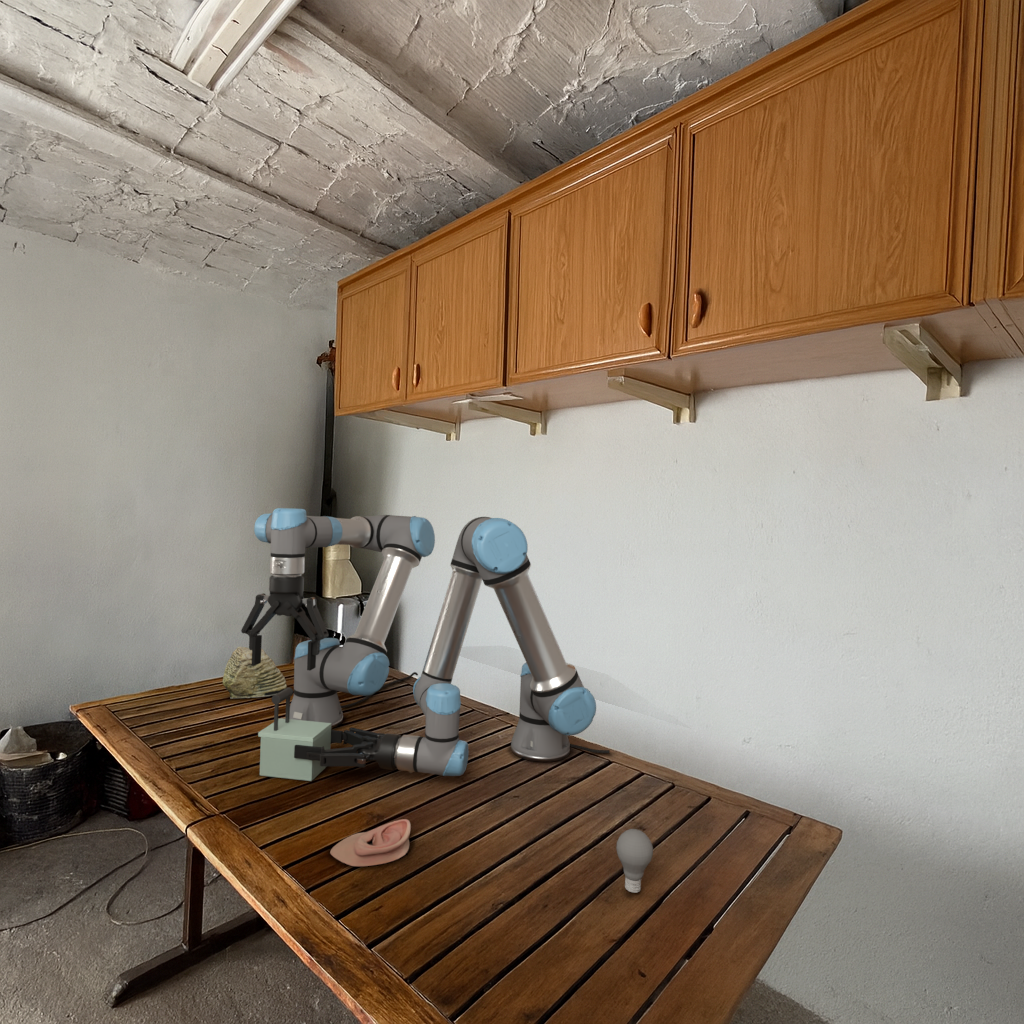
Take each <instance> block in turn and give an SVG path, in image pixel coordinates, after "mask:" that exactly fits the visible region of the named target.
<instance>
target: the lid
mask: <svg viewBox="0 0 1024 1024" xmlns="http://www.w3.org/2000/svg"><path fill="white" fill-rule="evenodd" d="M292 696H294V688H292V687H286V689H285V690H283V691H281V692H279V693H278V694H276V695H272V697H271V703H272V704H274V711H273V712H274V713H273V714H274V715H273V722H272V723H271V724H269V725H267V726H266V727H264V728H263V729H261V730H259V731H258V732H257V737H258V738H261V737H267V738H277V739H287V740H297V741H307V742H314V741H315V740H316V739H317V738H319V737H320V736H321V735H322V734H323V733H325V732H326V731H327V730H328V729H330V728H331V723H324V722H314V721H303V720H293V719H289V717H290V704H291V697H292ZM284 701H285V717H284V718H282V717H281V718H279V709H280V704H281V703H282V702H284Z"/></svg>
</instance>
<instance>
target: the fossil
mask: <svg viewBox="0 0 1024 1024" xmlns="http://www.w3.org/2000/svg"><path fill="white" fill-rule="evenodd" d="M222 676H223V677H222V685H223V687H224V688H225V690H226V691H228V693H229V698H230V699H250V698H264V697H271V696H272V697H273V696H274V695H276V694H278V693H279V692H281V691H283V690H285V689H286V688H288V686H287V680H286V678H285V676H284V674H283V673H282V672H281V669H279V668H278V667H277V665H276V663H275V662H274V660H273V659H272V658H271V657H270V656H269V655H268V654H267V653H266V652H265V650H264V649H263V648H261V663H259V664H257V665H255V666H252V650H250V649H249V647H247V646H246V647H245V646H238V647H237V648H236V649H235V650H233V651H232V653H231V656H230V657H229V659H228V660H227V663H226V666H225V668H224V671H223V675H222Z"/></svg>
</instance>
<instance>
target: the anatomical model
mask: <svg viewBox="0 0 1024 1024" xmlns="http://www.w3.org/2000/svg"><path fill="white" fill-rule="evenodd" d="M411 825H412V824H411V822H410V820H409V819H406V818H404V819H403V818H402V819H396V820H394V821H391V822H387V823H385V824H382V825H380V826H377V827H375V828H373V829H370V830H367V831H363V832H358V833H354V834H352V835H349V836H348V837H345V838H344V839H342V840H341V841H339V842H338V843H336V844H335V845H334V846H332V848H331V849H330V850H329V851H330V852H329V854H330V855H331V856H332V857H333V858H334V859H335V860H337V861H339V862H341V863H342V864H344V865H345V864H346V865H347V866H351V867H368V866H369V867H370V866H377V865H383V864H387V863H391V862H394V861H397V860H399V859H400V858H402V857H404V856H405V855H406V854H407V853H408V852H409V849H410V839H409V837H410V834H411V830H412V829H411V828H412V826H411Z"/></svg>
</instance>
